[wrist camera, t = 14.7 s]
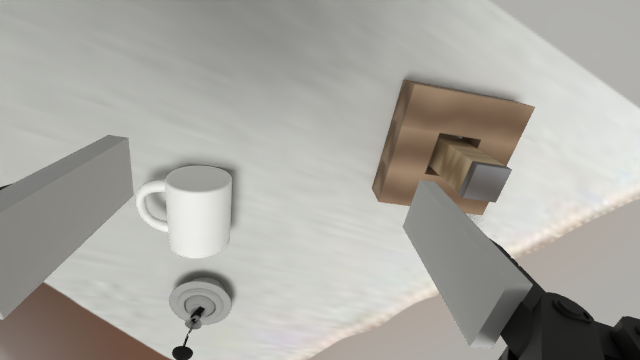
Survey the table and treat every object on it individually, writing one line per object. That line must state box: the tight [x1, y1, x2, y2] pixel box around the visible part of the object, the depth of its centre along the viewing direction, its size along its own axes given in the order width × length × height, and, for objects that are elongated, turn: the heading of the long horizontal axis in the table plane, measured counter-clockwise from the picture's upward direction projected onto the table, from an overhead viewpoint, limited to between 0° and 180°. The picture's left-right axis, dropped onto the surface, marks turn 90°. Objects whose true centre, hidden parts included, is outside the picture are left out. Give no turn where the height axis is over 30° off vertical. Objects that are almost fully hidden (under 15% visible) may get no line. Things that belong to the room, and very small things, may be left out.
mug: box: [136, 165, 232, 258], centre depth 39 cm, size 12×10×8 cm
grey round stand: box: [169, 277, 232, 360], centre depth 46 cm, size 12×10×10 cm
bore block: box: [372, 80, 535, 215], centre depth 40 cm, size 16×16×4 cm
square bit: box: [428, 133, 512, 202], centre depth 37 cm, size 4×4×12 cm
